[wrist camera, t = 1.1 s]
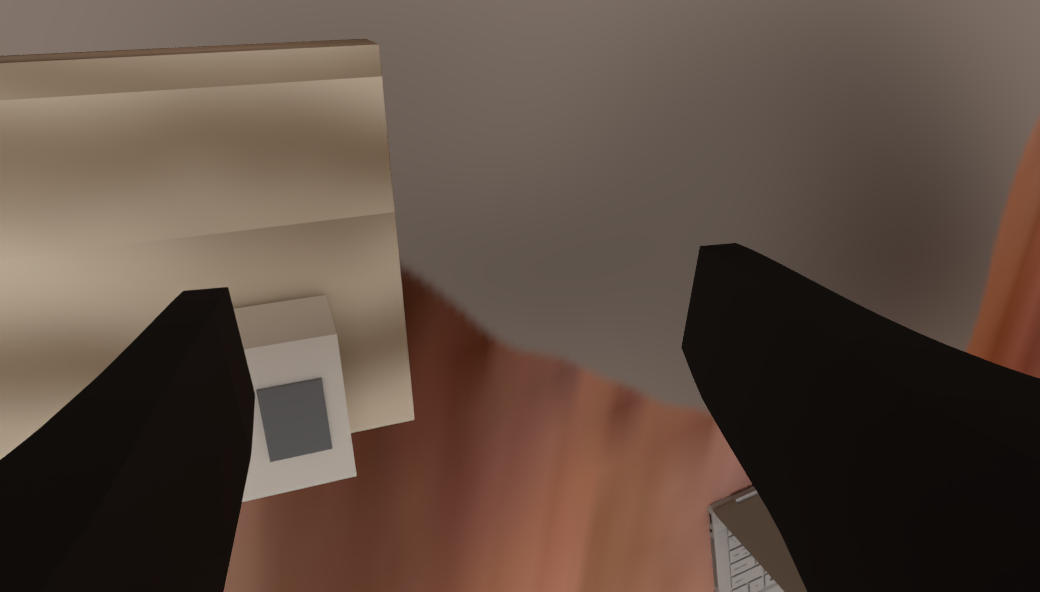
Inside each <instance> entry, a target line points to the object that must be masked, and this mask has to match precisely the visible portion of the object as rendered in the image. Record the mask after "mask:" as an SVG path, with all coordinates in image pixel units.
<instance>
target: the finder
mask: <svg viewBox="0 0 1040 592" xmlns="http://www.w3.org/2000/svg"><path fill="white" fill-rule="evenodd" d="M234 312H235V316H236V320H237V324H238V328H239V332H240V336H241V340H242V344H243V348H244V352H245V356H246V360H247V364H248V368H249V372H250V376H251V380H252V384H253V388H254V392H255V406H254V425H253V439H252V452H251V459H250V464H249V469H248V474H247V479H246V484H245V489H244V494H243V499H242V502H245V501H250V500H254V499H259V498H263V497H267V496H272V495H276V494H280V493H285V492H289V491H293V490H298V489H302V488H307V487H311V486H315V485H320V484H324V483H328V482H333V481H337V480H342V479H346V478H350V477H355V476H357V475H356V468H355V461H354V454H353V446H352V439H351V432H350V425H349V418H348V410H347V403H346V396H345V389H344V381H343V374H342V367H341V360H340V353H339V345H338V338H337V332H336V329H335V325H334V322H333V318H332V315H331V311H330V308H329V304H328V301H327V297H326V295H321V296H314V297H308V298H301V299H294V300H288V301H281V302H275V303H268V304H261V305H255V306H248V307H242V308H235V309H234Z"/></svg>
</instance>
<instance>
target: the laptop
mask: <svg viewBox="0 0 1040 592" xmlns="http://www.w3.org/2000/svg"><path fill="white" fill-rule="evenodd" d="M708 513H710V514H711V521H710V522H709V528H710V529H711V530H710V537H711V538H710V539H711V541H710V542H712V543H711V547H712V548H711V549H712V550H711V551H712V554H713V555H712V556H713V557H712V558H713V559H712V561H713V562H712V563H713V564H712V565H713V568H714V569H713V570H714V571H713V572H714V573H713V574H714V579H715V580H714V581H715V582H714V583H715V584H714V588H715V592H807V590H806V588H805V586H804V584H803V581H802V579H801V577H800V575H799V573H798V570H797V568H796V566H795V564H794V562H793V560H792V557H791V555H790V553H789V551H788V549H787V546H786V544H785V542H784V540H783V538H782V536H781V534H780V532H779V530H778V528H777V526H776V524H775V522H774V521H773V519H772V517H771V515H770V513H769V511H768V509H767V508H766V506H765V504H764V503H763V501H762V499H761V498H760V496H759V494H758V492H757V491H756V489H755V487H754V486H752V487H750V488H748V489H746V490H743V491H741V492H739V493H737V494H734V495H732V496H729V497H727V498H725V499H722V500H720V501H718V502H716V503H713V504H712V505H710V506H709V507H708Z"/></svg>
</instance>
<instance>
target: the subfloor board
mask: <svg viewBox="0 0 1040 592" xmlns="http://www.w3.org/2000/svg"><path fill="white" fill-rule="evenodd" d="M222 287H228V289H229V293H230V297H231V301H232V305H233V309H235V308H242V307H248V306H255V305H261V304H268V303H275V302H281V301H288V300H294V299H301V298H308V297H314V296H321V295H326V297H327V301H328V304H329V308H330V311H331V315H332V318H333V322H334V325H335V329H336V332H337V338H338V345H339V353H340V360H341V367H342V374H343V381H344V389H345V396H346V403H347V410H348V418H349V425H350V432H351V433H354V432H359V431H363V430H368V429H373V428H378V427H382V426H387V425H392V424H397V423H401V422H406V421H411V420H415V419H414V408H413V398H412V387H411V377H410V366H409V356H408V345H407V335H406V324H405V313H404V303H403V292H402V282H401V271H400V261H399V250H398V240H397V229H396V219H395V208H394V197H393V187H392V177H391V167H390V156H389V146H388V134H387V124H386V114H385V103H384V92H383V82H382V72H381V61H380V51H379V44H377V43H374V42H372V41H370V40H367V39H350V40H330V41H309V42H287V43H265V44H244V45H223V46H202V47H180V48H160V49H141V50H140V49H139V50H117V51H96V52H74V53H54V54H33V55H11V56H0V459H2V458H3V457H4V456H6V455H7V454H8V453H10V452H11V451H12V450H13V449H15V448H16V447H17V446H18V445H20V444H21V443H22V442H23V441H25V440H26V439H27V438H28V437H30V436H31V435H32V434H33V433H34V432H36V431H37V430H38V429H39V428H40V427H42V426H43V425H44V424H45V423H46V422H47V421H48V420H49V419H51V418H52V417H53V416H54V415H55V414H56V413H57V412H58V411H59V410H61V409H62V408H63V407H64V406H65V405H66V404H67V403H68V402H70V401H71V400H72V399H73V398H74V397H75V396H76V395H77V394H79V393H80V392H81V391H82V390H83V389H84V388H85V387H86V386H87V385H89V384H90V383H91V382H92V381H93V380H94V379H95V378H96V377H97V376H98V375H99V374H101V373H102V372H103V371H104V370H105V369H106V368H107V367H108V366H109V365H110V364H111V363H112V362H113V361H114V360H115V359H116V358H117V357H118V356H119V355H120V354H121V353H122V352H123V351H124V350H125V349H126V348H127V347H128V346H129V345H130V344H131V343H132V342H133V341H134V340H135V339H136V338H137V337H138V336H139V335H140V334H141V333H142V332H143V331H144V330H145V329H146V328H147V327H148V326H149V325H150V324H151V322H152V321H153V320H154V319H155V318H156V317H157V316H158V315H159V314H160V313H161V312H162V311H163V310H164V309H165V308H166V307H167V306H168V305H169V304H170V303H171V302H172V301H173V300H174V299H175V298H176V297H177V296H178V295H179V294H180V293H181V292H183V291H187V290H198V289H210V288H222Z"/></svg>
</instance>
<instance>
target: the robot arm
mask: <svg viewBox="0 0 1040 592" xmlns="http://www.w3.org/2000/svg"><path fill="white" fill-rule="evenodd" d="M682 350H683V352H684V355H685V357H686V360H687V363H688V365H689V368H690V371H691V373H692V376H693V378H694V380H695V383H696V385H697V387H698V390H699V392H700V394H701V397H702V399H703V401H704V402H705V404H706V406H707V408H708V410H709V411H710V413H711V415H712V417H713V418H714V420H715V422H716V423H717V425H718V427H719V429H720V430H721V432H722V434H723V435H724V437H725V439H726V440H727V442H728V444H729V446H730V447H731V449H732V451H733V452H734V454H735V456H736V457H737V459H738V461H739V462H740V464H741V466H742V467H743V469H744V471H745V472H746V474H747V476H748V477H749V479H750V481H751V482H752V484H753V486H754V487H755V489H756V491H757V492H758V494H759V496H760V498H761V499H762V501H763V503H764V504H765V506H766V508H767V509H768V511H769V513H770V515H771V517H772V519H773V521H774V522H775V524H776V526H777V528H778V530H779V532H780V534H781V536H782V538H783V540H784V542H785V544H786V546H787V549H788V551H789V553H790V555H791V557H792V560H793V562H794V564H795V566H796V568H797V570H798V573H799V575H800V577H801V579H802V581H803V584H804V586H805V588H806V590H807V592H1040V379H1039V378H1036V377H1033V376H1030V375H1027V374H1024V373H1021V372H1018V371H1015V370H1012V369H1009V368H1006V367H1003V366H1000V365H998V364H995V363H992V362H989V361H987V360H984V359H982V358H979V357H976V356H974V355H971V354H969V353H966V352H964V351H961V350H958V349H956V348H953V347H950V346H948V345H945V344H943V343H940V342H938V341H936V340H934V339H931V338H929V337H926V336H924V335H922V334H920V333H917V332H915V331H913V330H911V329H909V328H906V327H904V326H902V325H900V324H898V323H896V322H893V321H891V320H889V319H887V318H885V317H882V316H880V315H878V314H876V313H874V312H872V311H870V310H868V309H866V308H864V307H862V306H860V305H858V304H856V303H854V302H852V301H850V300H848V299H846V298H844V297H842V296H840V295H839V294H837V293H834V292H833V291H831V290H829V289H827V288H825V287H823V286H821V285H819V284H818V283H816V282H814V281H812V280H810V279H808V278H806V277H804V276H802V275H800V274H799V273H797V272H795V271H793V270H791V269H789V268H787V267H785V266H783V265H781V264H780V263H777V262H776V261H774V260H772V259H770V258H768V257H766V256H764V255H762V254H760V253H758V252H755V251H753V250H751V249H749V248H747V247H744V246H742V245H739V244H737V243H731V244H720V245H708V246H700V249H699V255H698V260H697V266H696V271H695V277H694V282H693V287H692V293H691V298H690V304H689V309H688V315H687V320H686V326H685V331H684V337H683V342H682ZM254 406H255V392H254V388H253V384H252V380H251V376H250V372H249V368H248V364H247V360H246V356H245V352H244V348H243V344H242V340H241V336H240V332H239V328H238V324H237V320H236V316H235V312H234V309H233V305H232V301H231V297H230V293H229V289H228V287H222V288H210V289H198V290H187V291H183V292H181V293H180V294H179V295H178V296H177V297H176V298H175V299H174V300H173V301H172V302H171V303H170V304H169V305H168V306H167V307H166V308H165V309H164V310H163V311H162V312H161V313H160V314H159V315H158V316H157V317H156V318H155V319H154V320H153V321H152V322H151V324H150V325H149V326H148V327H147V328H146V329H145V330H144V331H143V332H142V333H141V334H140V335H139V336H138V337H137V338H136V339H135V340H134V341H133V342H132V343H131V344H130V345H129V346H128V347H127V348H126V349H125V350H124V351H123V352H122V353H121V354H120V355H119V356H118V357H117V358H116V359H115V360H114V361H113V362H112V363H111V364H110V365H109V366H108V367H107V368H106V369H105V370H104V371H103V372H102V373H101V374H99V375H98V376H97V377H96V378H95V379H94V380H93V381H92V382H91V383H90V384H89V385H87V386H86V387H85V388H84V389H83V390H82V391H81V392H80V393H79V394H77V395H76V396H75V397H74V398H73V399H72V400H71V401H70V402H68V403H67V404H66V405H65V406H64V407H63V408H62V409H61V410H59V411H58V412H57V413H56V414H55V415H54V416H53V417H52V418H51V419H49V420H48V421H47V422H46V423H45V424H44V425H43V426H42V427H40V428H39V429H38V430H37V431H36V432H34V433H33V434H32V435H31V436H30V437H28V438H27V439H26V440H25V441H23V442H22V443H21V444H20V445H18V446H17V447H16V448H15V449H13V450H12V451H11V452H10V453H8V454H7V455H6V456H4V457H3V458H2V459H0V592H223V590H224V586H225V581H226V576H227V571H228V566H229V562H230V557H231V552H232V547H233V542H234V538H235V533H236V528H237V523H238V518H239V514H240V509H241V504H242V499H243V494H244V489H245V484H246V479H247V474H248V469H249V464H250V459H251V452H252V439H253V425H254Z"/></svg>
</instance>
